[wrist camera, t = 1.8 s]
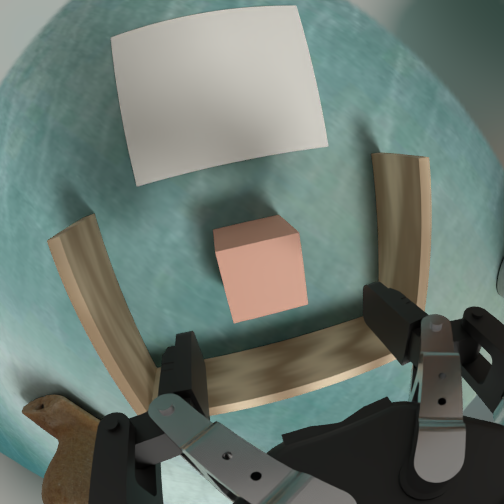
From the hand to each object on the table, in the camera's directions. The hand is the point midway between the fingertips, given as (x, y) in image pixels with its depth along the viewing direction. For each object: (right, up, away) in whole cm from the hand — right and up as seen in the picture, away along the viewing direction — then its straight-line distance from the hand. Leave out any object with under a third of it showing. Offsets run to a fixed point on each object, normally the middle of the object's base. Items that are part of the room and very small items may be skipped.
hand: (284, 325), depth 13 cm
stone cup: (-21, -18, +14) cm, 31 cm away
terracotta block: (-1, +3, +10) cm, 10 cm away
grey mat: (-4, +15, +5) cm, 16 cm away
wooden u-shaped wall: (-1, +1, +10) cm, 10 cm away
